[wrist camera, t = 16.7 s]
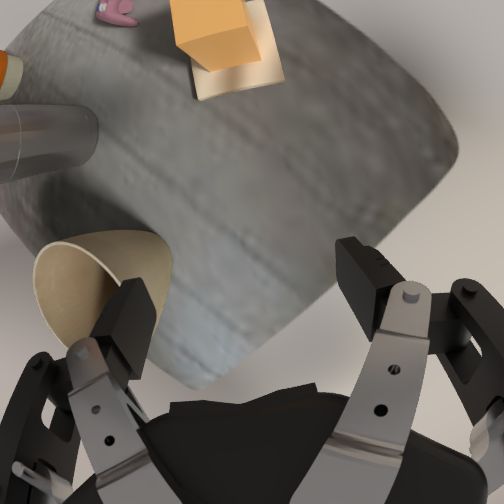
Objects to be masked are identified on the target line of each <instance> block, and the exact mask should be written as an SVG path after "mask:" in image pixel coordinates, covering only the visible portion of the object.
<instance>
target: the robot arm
mask: <svg viewBox="0 0 504 504" xmlns="http://www.w3.org/2000/svg"><path fill="white" fill-rule="evenodd" d="M97 139H98V125H97V121H96V118H95V116H94V114H93V113H92V112H91V110H89V109H88V108H86V107H81V106H66V105H39V104H22V105H0V185H2V184H5V183H8V182H12V181H15V180H19V179H23V178H26V177H30V176H34V175H38V174H43V173H47V172H51V171H56V170H61V169H66V168H71V167H76V166H80V165H82V164H84V163H85V162H86V161H87V160H88V159H89V158H90V157H91V155H92V153H93V151H94V149H95V146H96V143H97ZM335 251H336V276H337V281H338V285H339V287H340V289H341V291H342V292H343V294H344V296H345V298H346V300H347V301H348V303H349V305H350V307H351V309H352V310H353V312H354V314H355V316H356V318H357V319H358V321H359V323H360V325H361V327H362V329H363V331H364V333H365V334H366V336H367V338H368V340H369V342H372V344H371V347H370V350H369V352H368V355H367V357H366V360H365V363H364V365H363V368H362V370H361V373H360V375H359V377H358V380H357V382H356V385H355V387H354V389H353V391H352V394H351V396H350V397H348V396H344V395H341V394H336V393H326V392H317V388H316V385H315V383H310V384H306V385H301V386H297V387H292V388H287V389H281V390H278V391H275V392H272V393H270V394H267V395H265V396H262V397H259V398H257V399H254V400H251V401H249V402H246V403H242V404H232V403H223V402H214V401H206V400H199V401H185V402H171V403H170V410H169V413H166V414H163V415H160V416H158V417H156V418H154V419H152V420H151V421H150V420H149V418H148V417H147V415H146V413H145V412H144V410H143V409H142V407H141V405H140V404H139V402H138V400H137V399H136V397H135V395H134V394H133V392H132V390H131V389H130V387H129V386H128V381H129V380H139V379H141V375H142V371H143V367H144V363H145V359H146V356H147V352H148V348H149V345H150V341H151V338H152V334H153V331H154V327H155V324H156V320H157V313H156V309H155V306H154V304H153V301H152V299H151V297H150V295H149V292H148V290H147V288H146V285H145V283H144V281H143V279H142V278H141V277H137V278H132V279H126V280H123V281H122V283H121V285H120V287H119V289H118V290H117V292H116V293H115V294H114V295H113V296H112V297H111V298H110V299H109V300H108V301H107V303H106V304H105V306H104V308H103V311H102V312H101V314H100V317H99V318H98V320H97V321H96V323H95V325H94V327H93V329H92V331H91V333H90V335H89V337H86V338H82V339H80V340H78V341H76V342H75V343H74V344H73V345H72V346H71V347H70V348H69V349H68V351H67V354H66V357H65V358H62V359H59V360H56V361H54V360H53V359H52V357H51V356H50V355H49V353H47V352H40V353H37V354H36V355H34V356H33V357H32V358H31V359H30V360H29V361H28V363H27V364H26V366H25V368H24V370H23V373H22V375H21V377H20V379H19V381H18V383H17V385H16V387H15V390H14V392H13V394H12V397H11V399H10V401H9V404H8V406H7V408H6V411H5V413H4V416H3V419H2V421H1V424H0V504H486V503H487V497H488V495H489V494H491V493H492V492H494V491H495V490H496V489H498V488H499V487H501V486H502V485H503V484H504V308H503V307H502V306H501V305H500V304H499V303H498V302H497V300H496V299H495V298H494V297H493V296H492V295H491V294H490V293H489V292H488V291H487V290H486V289H485V288H484V287H483V286H482V285H481V284H480V283H479V282H477V281H475V280H472V279H467V278H463V279H458V280H456V281H455V282H454V283H453V284H452V287H451V291H450V293H434V294H433V293H432V294H431V292H430V290H429V289H428V288H427V287H426V286H424V285H423V284H421V283H418V282H414V281H406V280H405V279H404V278H403V276H402V275H401V274H400V273H399V272H398V271H397V270H396V269H395V268H394V267H393V266H392V264H390V262H389V261H388V260H387V259H385V257H384V256H383V255H382V254H381V253H380V252H379V251H378V250H376V249H374V248H372V247H370V246H363V245H362V244H361V243H360V242H359V241H358V239H357V238H356V237H354V236H352V237H347V238H342V239H337V240H336V243H335ZM471 336H473V338H474V339H475V340H476V342H477V343H478V345H479V346H480V348H481V351H482V357H481V355H480V354H479V352H478V351H477V349H476V348H475V347H474V345H473V343H472V342H471V340H470V339H471ZM430 354H436V355H437V357H438V359H439V360H440V362H441V364H442V366H443V367H444V370H445V371H446V373H447V375H448V377H449V379H450V380H451V382H452V384H453V386H454V388H455V390H456V392H457V394H458V396H459V398H460V400H461V402H462V403H463V406H464V408H465V410H466V412H467V414H468V416H469V418H470V420H471V423H472V425H473V429H472V431H471V434H470V448H469V451H470V453H471V454H472V456H471V458H470V457H469V456H466V455H464V454H462V453H459V452H457V451H455V450H453V449H451V448H449V447H446V446H444V445H442V444H440V443H438V442H435V441H434V440H432V439H430V438H428V437H425V436H423V435H421V434H419V433H417V432H415V431H413V430H412V429H411V426H412V423H413V419H414V415H415V412H416V407H417V404H418V400H419V396H420V392H421V387H422V383H423V378H424V373H425V367H426V362H427V355H430ZM47 398H48V399H49V400H50V401H51V402H52V403H53V404H54V405H55V406H56V409H55V412H54V415H53V418H52V421H51V424H50V428H49V429H48V428H47V427H46V426H44V424H43V422H42V419H41V413H42V410H43V407H44V405H45V402H46V399H47ZM81 439H82V442H83V445H84V447H85V450H86V453H87V455H88V457H89V460H90V462H91V465H92V467H93V469H94V471H95V473H94V474H93V475H92V476H91V477H90V478H88V479H87V480H86V481H85V482H84V483H83V484H82V485H81V486H80V487H79V488H78V489H77V490H76V491H74V492H73V488H72V483H73V477H74V471H75V464H76V460H77V455H78V449H79V445H80V440H81Z"/></svg>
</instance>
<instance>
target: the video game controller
mask: <svg viewBox="0 0 504 504" xmlns="http://www.w3.org/2000/svg"><path fill="white" fill-rule="evenodd" d="M120 1H121V0H100V1H99V5H98V7H97V11H96V16H97V18H98V19H99V20H100V21H104V22H108V23H111V24H115V25H120V26H127V27H135V26H137V25H138V21H137V20H135V19H134V18H132V17H129V16H126V15H123V14H126V13H129V12H130V11H132V9H133V2H132V1H129V0H125V1H122V2H120Z"/></svg>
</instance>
